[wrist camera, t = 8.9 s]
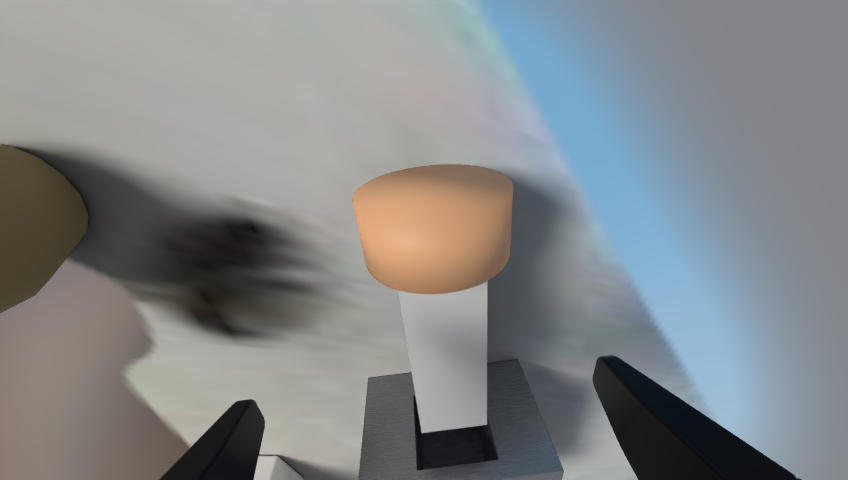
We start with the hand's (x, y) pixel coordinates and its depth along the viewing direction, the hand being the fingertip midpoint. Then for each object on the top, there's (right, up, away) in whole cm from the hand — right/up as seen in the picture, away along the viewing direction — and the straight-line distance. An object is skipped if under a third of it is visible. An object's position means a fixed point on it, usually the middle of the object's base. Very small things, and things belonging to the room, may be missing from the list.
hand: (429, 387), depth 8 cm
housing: (+2, -11, +19) cm, 22 cm away
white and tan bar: (+1, +1, +11) cm, 11 cm away
